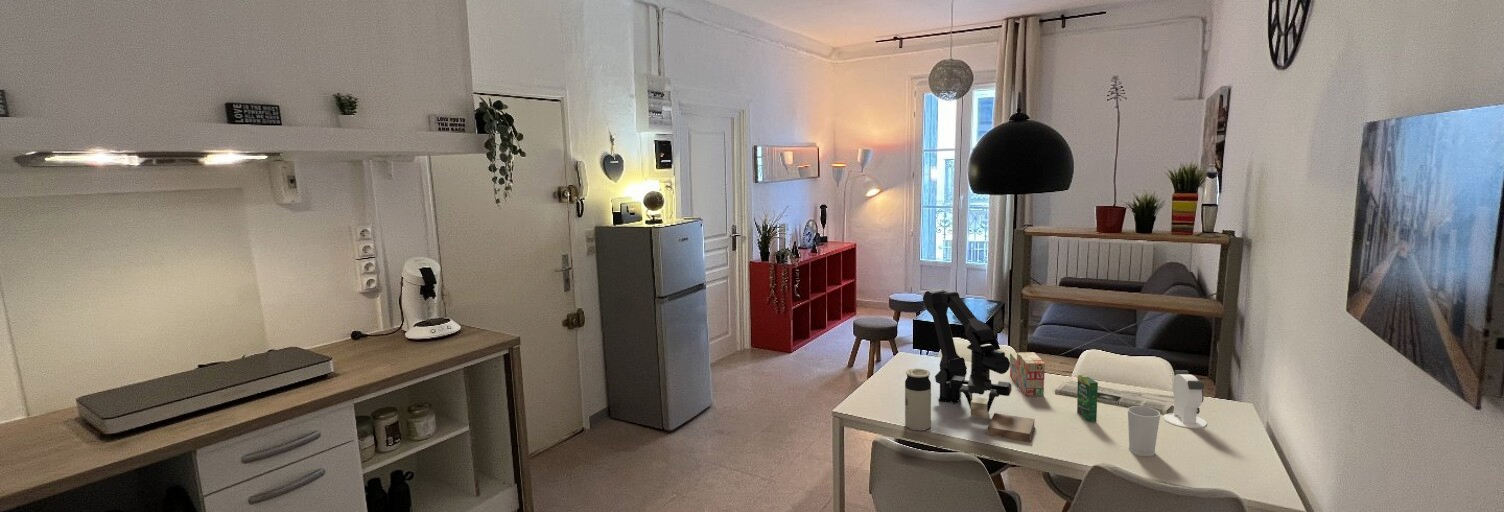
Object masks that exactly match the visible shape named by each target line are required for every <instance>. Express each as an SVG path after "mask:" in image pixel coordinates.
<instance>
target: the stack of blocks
mask: <svg viewBox="0 0 1504 512" xmlns="http://www.w3.org/2000/svg"><path fill="white" fill-rule="evenodd" d="M1009 362H1010V367H1009V375H1010V377H1011V379H1012V380H1013V382H1014V383H1015V384H1016V385H1017V387H1019V389H1020V390H1021V391H1022V394H1024V395H1025V396H1026V397H1027V396H1028V397H1029V396H1030V397H1031V396H1032V397H1036V396H1037V397H1044V393H1045V387H1044V386H1045V374H1046V373H1045V369H1046V363H1045V362H1044V361H1043V360H1042V358H1041V357H1039V355H1038V354H1036V352H1033V351H1032V352H1009Z"/></svg>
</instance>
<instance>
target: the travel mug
mask: <svg viewBox="0 0 1504 512" xmlns="http://www.w3.org/2000/svg"><path fill="white" fill-rule="evenodd" d="M905 374H906V379H905V380H904V418H905V419H904V421H905V422H904V425H905V426H906V428H907V429H910V430H914V431H926V430H929V429H931V426H932V425H931V424H932V386H931V385H932V382H931V380H930V376H931V372H930V371H929V370H927V369H925V368H909V369H907V370H906V371H905Z"/></svg>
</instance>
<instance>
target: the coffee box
mask: <svg viewBox="0 0 1504 512" xmlns="http://www.w3.org/2000/svg"><path fill="white" fill-rule="evenodd" d="M1077 382H1078V392H1077V397H1076V399H1077V400H1076V401H1077V402H1076V403H1077V404H1076V405H1077V406H1076V413H1077V414H1078V415H1079V416H1080V417H1081V418H1083V419H1084V420H1085V421H1086V422H1088V423H1096V422H1097V419H1098V415H1097V414H1098V401H1097V392H1098V386H1099V383H1098V381H1096V380H1094V379H1092V378H1091V377H1089V376H1088V375H1087V374H1084V375H1083V374H1082V375H1081V374H1080V375H1077Z"/></svg>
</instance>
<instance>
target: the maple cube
mask: <svg viewBox="0 0 1504 512" xmlns="http://www.w3.org/2000/svg"><path fill="white" fill-rule="evenodd" d="M988 400H989V398H986V397H978V396H972V400H971V409H970V414H969V415H970V417H973V418H978V419H979V418H980V419H986V420H987V419H988V416H989V414H990V411H989V412H988V411H987V407H988Z"/></svg>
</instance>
